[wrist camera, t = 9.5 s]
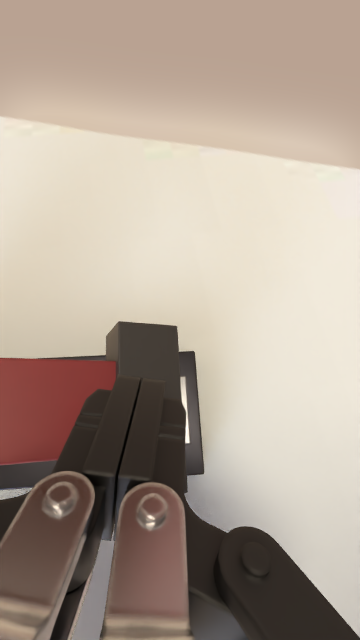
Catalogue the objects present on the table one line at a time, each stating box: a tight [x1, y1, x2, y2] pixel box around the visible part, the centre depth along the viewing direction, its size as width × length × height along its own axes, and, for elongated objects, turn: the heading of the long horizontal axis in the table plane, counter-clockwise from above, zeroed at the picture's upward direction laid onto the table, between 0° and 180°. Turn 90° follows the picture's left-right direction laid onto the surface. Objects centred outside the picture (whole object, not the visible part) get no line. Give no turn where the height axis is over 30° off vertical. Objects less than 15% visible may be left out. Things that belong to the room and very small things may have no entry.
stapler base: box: [0, 351, 204, 490], centre depth 13 cm, size 15×6×9 cm, turn 94°
